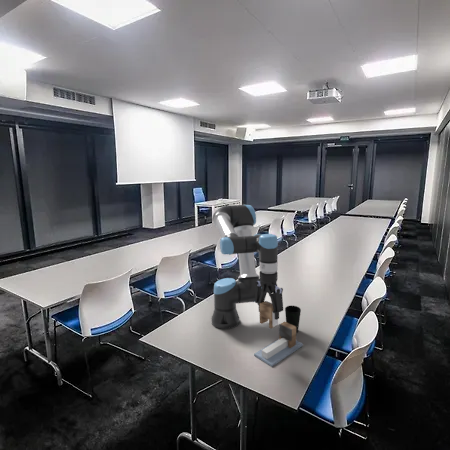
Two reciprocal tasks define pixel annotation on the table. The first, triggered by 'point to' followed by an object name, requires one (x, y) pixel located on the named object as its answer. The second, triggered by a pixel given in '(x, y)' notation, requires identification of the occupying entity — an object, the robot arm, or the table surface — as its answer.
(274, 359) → the rail
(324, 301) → the table surface
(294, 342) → the fixed jaw
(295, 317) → the cup
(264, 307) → the two-tone tabbed box
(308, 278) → the table surface
